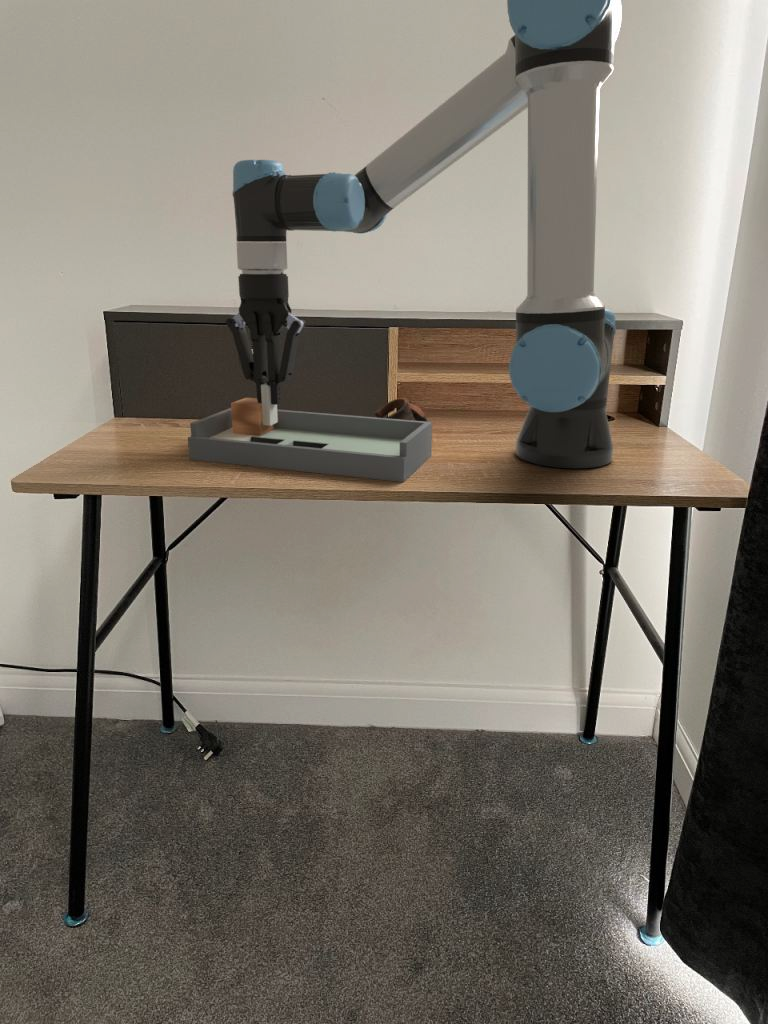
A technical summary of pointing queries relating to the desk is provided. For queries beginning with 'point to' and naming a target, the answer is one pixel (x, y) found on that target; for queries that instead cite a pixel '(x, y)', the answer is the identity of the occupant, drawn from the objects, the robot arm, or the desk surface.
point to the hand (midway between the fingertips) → (270, 423)
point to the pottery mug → (402, 410)
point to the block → (248, 417)
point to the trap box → (318, 444)
